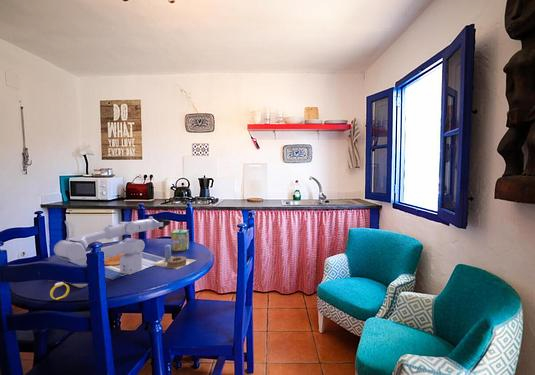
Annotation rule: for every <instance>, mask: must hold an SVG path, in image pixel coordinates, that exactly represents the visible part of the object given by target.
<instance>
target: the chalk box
mask: <svg viewBox="0 0 535 375" xmlns="http://www.w3.org/2000/svg"><path fill="white" fill-rule="evenodd" d="M182 228H183V225H180V227H179V229H173V231H172V232H171V234H170V236H171V238H170V239H171V252H177V251H180V252H181V251H187V250H189V247H190V241H189V240H190V234H189V231H190V229H182Z"/></svg>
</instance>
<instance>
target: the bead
mask: <svg viewBox="0 0 535 375" xmlns="http://www.w3.org/2000/svg"><path fill="white" fill-rule="evenodd" d="M186 259H187V257H186V256H182V255H181V256H172V258H170V259H168V260H167V266H168V267H180V266H183V265H185V264H186ZM185 266H186V265H185ZM183 267H184V266H183Z"/></svg>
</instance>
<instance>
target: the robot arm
mask: <svg viewBox="0 0 535 375" xmlns="http://www.w3.org/2000/svg"><path fill="white" fill-rule="evenodd" d="M170 224H171V220H170V219H164V218H158V219H154V217H153V216H150V215H149V216H148V217H146V218H145V219H138V220H132V221H120V222H118V223H117V224H108V225H107V226H105V227H104V228H103V230H100V231H96V232H91V233H86V234H82V235H77V236H72V237H69V238H67V239H64V240H63V239H61V240H59V241H58V242H57V243H56V244H55V245H54V246H53V247H54V248H53V253H54V254H55V255H56V256H57V257H58V258H60V259H62V260H65V261H68V262H71V263H74V264H76V265H81V266H85V265H87V264H86V254H87V253H90V252H91V250H88V251H86V249H87V248H88V246H89V244H91V243H93V242H94V243H95V242H97V241H99V240H102V239H103V240H104V239H107V240H112V239H115V238H119V237H121V236H125V235H130V236H131V235H134V234H135V233H140V232H146V231H153V230H156V229H157V228H158V230H163V229H164V228H165V227H167V226H169V225H170ZM145 246H146V244H145V242H144V240H142V239H135V238H131V237H125V238H124V239H123V240H122V241H119V242H118V243H115V244H112V245H107V246H103V247H100V248H101V251H103V252H104V259H103V260H106V259H110V258H113V257H116V256H119V255H122V256H120V258H119V273H121V274H126V275H132V274H135V273H138V272H140V271H143V270H145V269H147V267H146V266H143V251H144V249H145ZM123 254H124V255H123Z"/></svg>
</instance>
